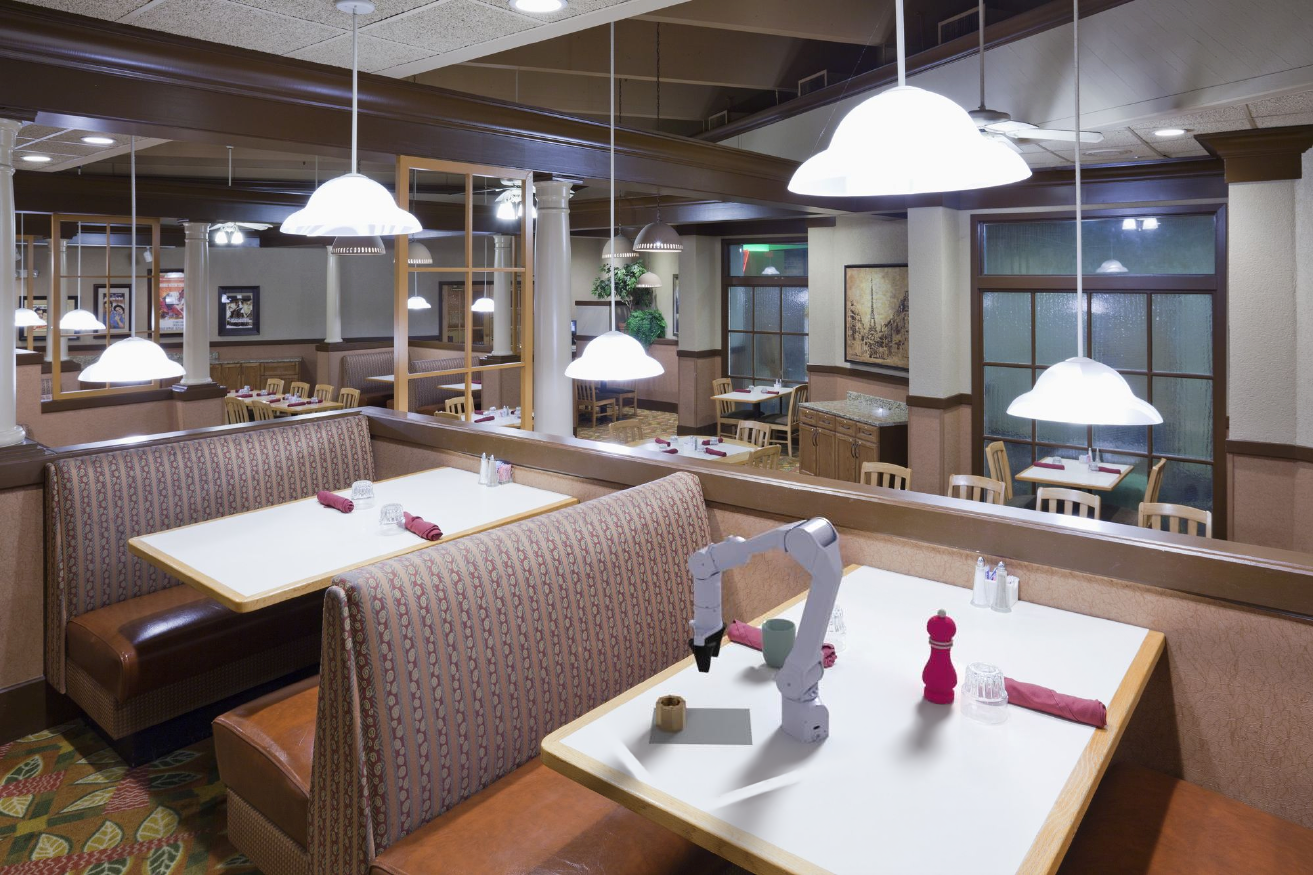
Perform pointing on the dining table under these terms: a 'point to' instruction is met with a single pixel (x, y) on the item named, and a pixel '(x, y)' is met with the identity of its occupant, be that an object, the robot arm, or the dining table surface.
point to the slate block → (708, 728)
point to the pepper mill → (940, 660)
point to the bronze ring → (671, 713)
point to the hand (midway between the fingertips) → (708, 663)
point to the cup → (777, 641)
